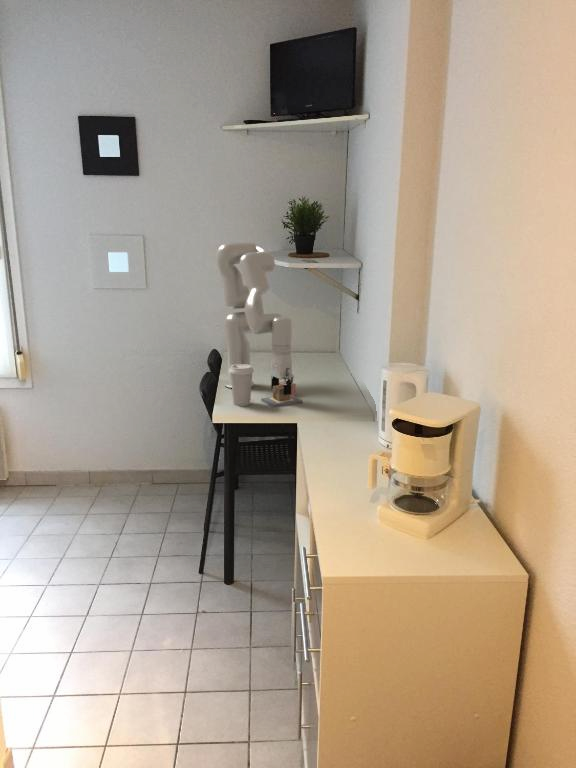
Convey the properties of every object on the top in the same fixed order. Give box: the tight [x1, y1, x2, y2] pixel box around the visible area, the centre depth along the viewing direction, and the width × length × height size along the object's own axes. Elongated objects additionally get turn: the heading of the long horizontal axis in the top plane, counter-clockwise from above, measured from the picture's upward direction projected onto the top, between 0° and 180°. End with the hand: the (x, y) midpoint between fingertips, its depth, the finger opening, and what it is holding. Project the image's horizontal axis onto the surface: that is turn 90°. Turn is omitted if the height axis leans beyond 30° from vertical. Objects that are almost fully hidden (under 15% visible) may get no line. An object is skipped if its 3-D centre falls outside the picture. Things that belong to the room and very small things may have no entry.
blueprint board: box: [260, 394, 303, 408], centre depth 257 cm, size 10×13×1 cm
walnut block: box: [272, 385, 290, 401], centre depth 257 cm, size 5×5×5 cm
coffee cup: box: [229, 364, 254, 407], centre depth 253 cm, size 10×10×15 cm
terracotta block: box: [279, 381, 296, 396], centre depth 267 cm, size 5×5×5 cm
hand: (281, 391), depth 257 cm, fingers open, 9 cm apart
